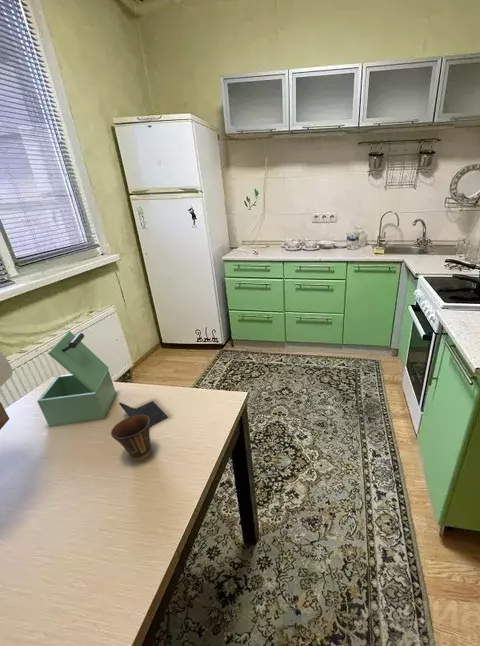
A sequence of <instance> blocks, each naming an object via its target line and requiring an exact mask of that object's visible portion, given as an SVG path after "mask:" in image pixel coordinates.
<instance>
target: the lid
mask: <svg viewBox="0 0 480 646" xmlns="http://www.w3.org/2000/svg"><path fill="white" fill-rule="evenodd" d="M84 338H85V334H84V333H82V332H78V333H77V334H76V335H75V334H74V333H73V332H71V331H70V330H69V331H67V332H66V333H65V334H64V335H63V336H62V337H61V338H60V340H58V342H57V343H56V344H55V345H54V346H52V348H50V350H49V351H48V352H47V354H48V355H49V356H50V357H51V358H52V359H53V360H55V361H56V362H57V363H58V364H59V365H61V367H63V368H64V369H65V370H66V371H68V372H69V373H70V374H72V375H73V376H75V377H76V378H77V379H78V380H79V381H80V382H81V383H83V384H84V385H85V386H86V387H87V388H88V389H90V390H91V391H92V392H93V393H94V392H96V390H97V388H98V387H99V385H100V383H101V381H102V379H103V378H104V376H105V374H106V372H107V370H109V369H110V367H109V366H108V365H107V364H106V363H104V362H103V361H102V360H101V359H100V358H99V357H98V356H97V355H96V354H95V353H94V352H93V351H92V350H90V348H89V347H87V346H86V344H85V343H83V342H82V340H83V339H84Z"/></svg>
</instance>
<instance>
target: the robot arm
mask: <svg viewBox="0 0 480 646" xmlns="http://www.w3.org/2000/svg"><path fill="white" fill-rule="evenodd" d="M13 372H14V371H13V367H12V365H11V363H10V362H9V360H8V359H7V357H6V356H5V353H3V352H2V351H1V350H0V388H2V386H3V385H5V383H6V382H8V380H10V378H11V377H13Z"/></svg>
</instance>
